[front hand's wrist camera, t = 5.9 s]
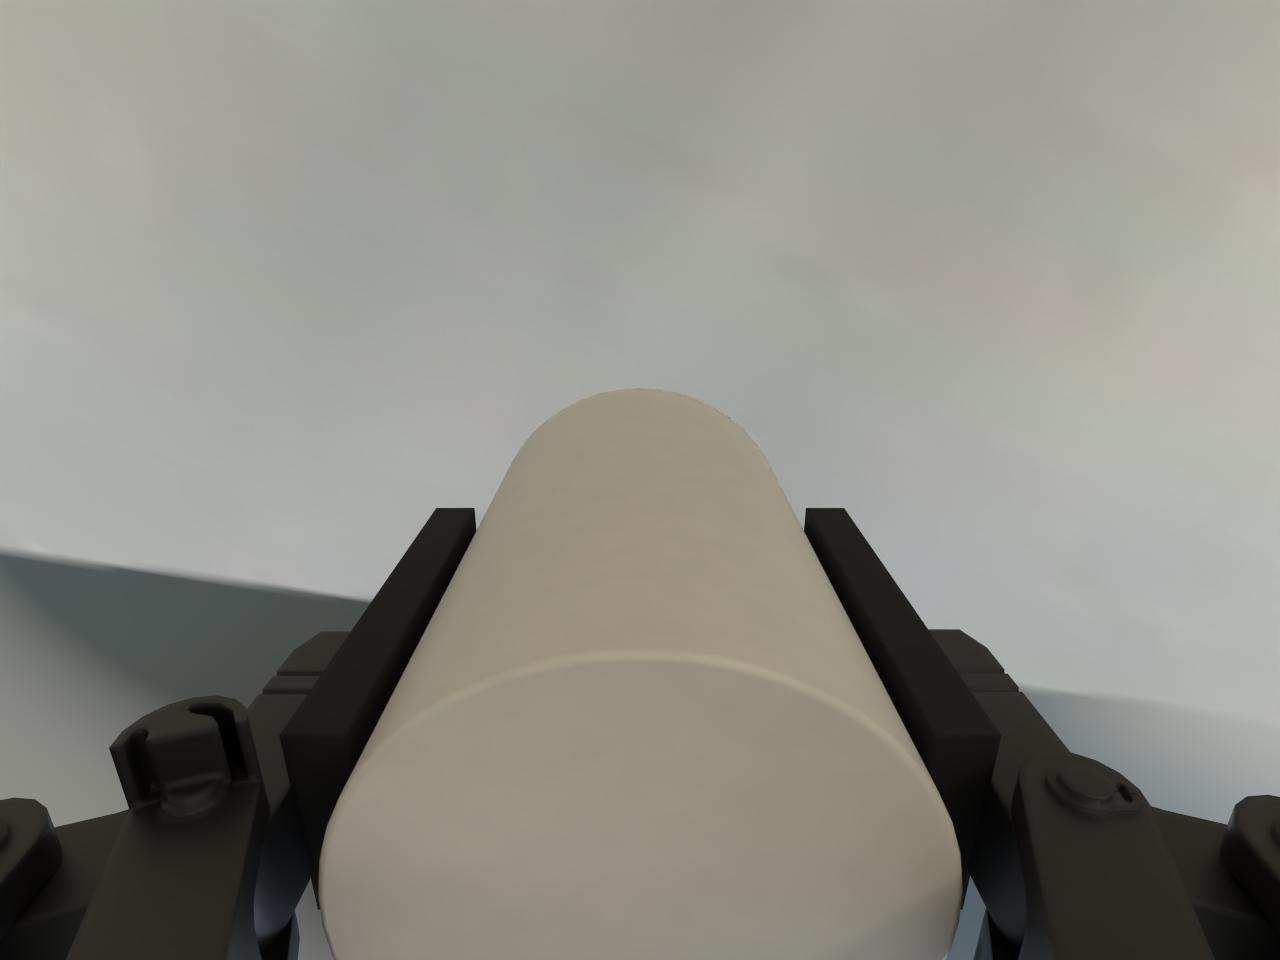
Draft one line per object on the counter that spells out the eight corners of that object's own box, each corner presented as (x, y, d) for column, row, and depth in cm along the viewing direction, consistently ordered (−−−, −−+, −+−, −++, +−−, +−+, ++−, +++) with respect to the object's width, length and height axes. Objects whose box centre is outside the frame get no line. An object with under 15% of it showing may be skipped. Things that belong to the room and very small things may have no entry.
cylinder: (445, 550, 17) (203, 970, 7) (609, 326, 15) (556, 511, 6) (665, 689, 18) (692, 1188, 9) (840, 499, 16) (1106, 879, 7)
